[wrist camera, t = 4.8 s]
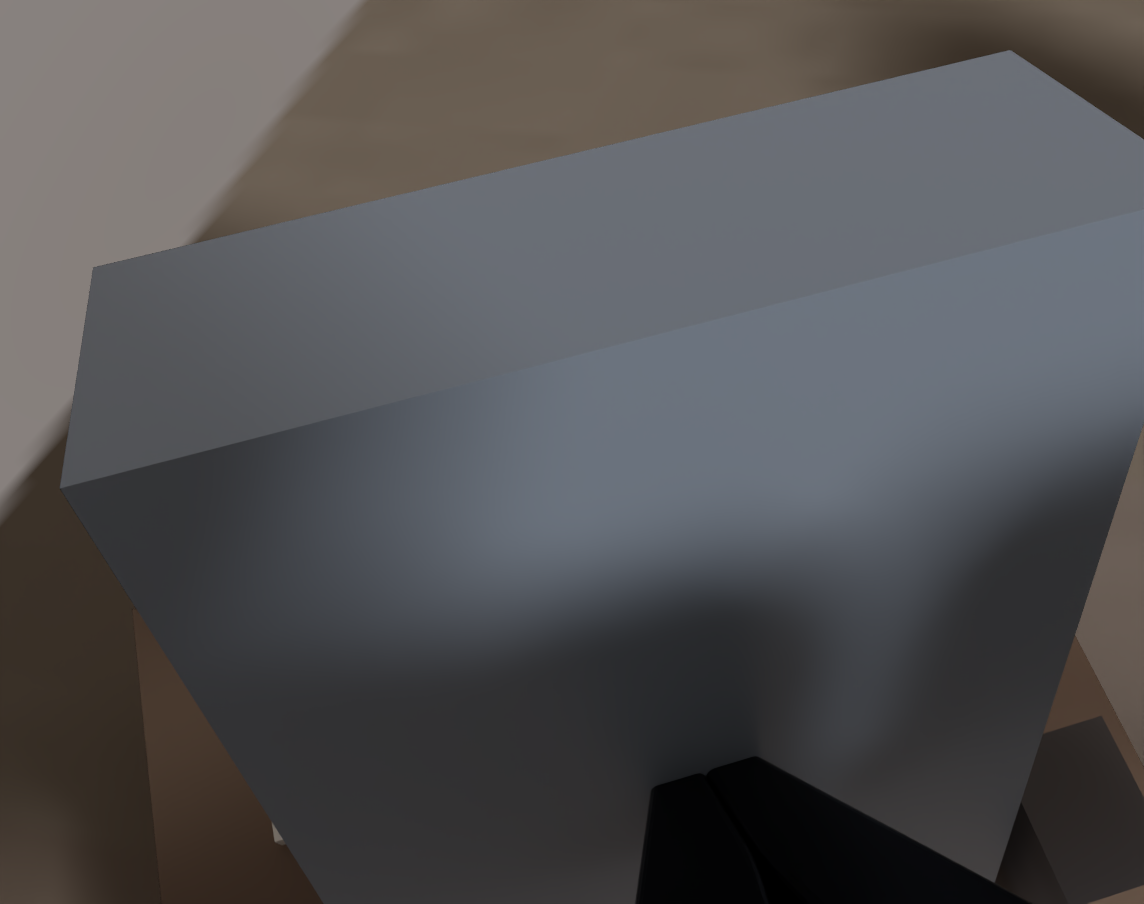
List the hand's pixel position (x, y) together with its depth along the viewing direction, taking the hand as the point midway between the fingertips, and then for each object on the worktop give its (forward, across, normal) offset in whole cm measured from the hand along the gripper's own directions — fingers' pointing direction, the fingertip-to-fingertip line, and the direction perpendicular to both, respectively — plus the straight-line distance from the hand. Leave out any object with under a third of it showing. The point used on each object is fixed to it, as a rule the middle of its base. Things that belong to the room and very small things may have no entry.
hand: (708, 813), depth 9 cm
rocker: (+3, 0, +4) cm, 5 cm away
